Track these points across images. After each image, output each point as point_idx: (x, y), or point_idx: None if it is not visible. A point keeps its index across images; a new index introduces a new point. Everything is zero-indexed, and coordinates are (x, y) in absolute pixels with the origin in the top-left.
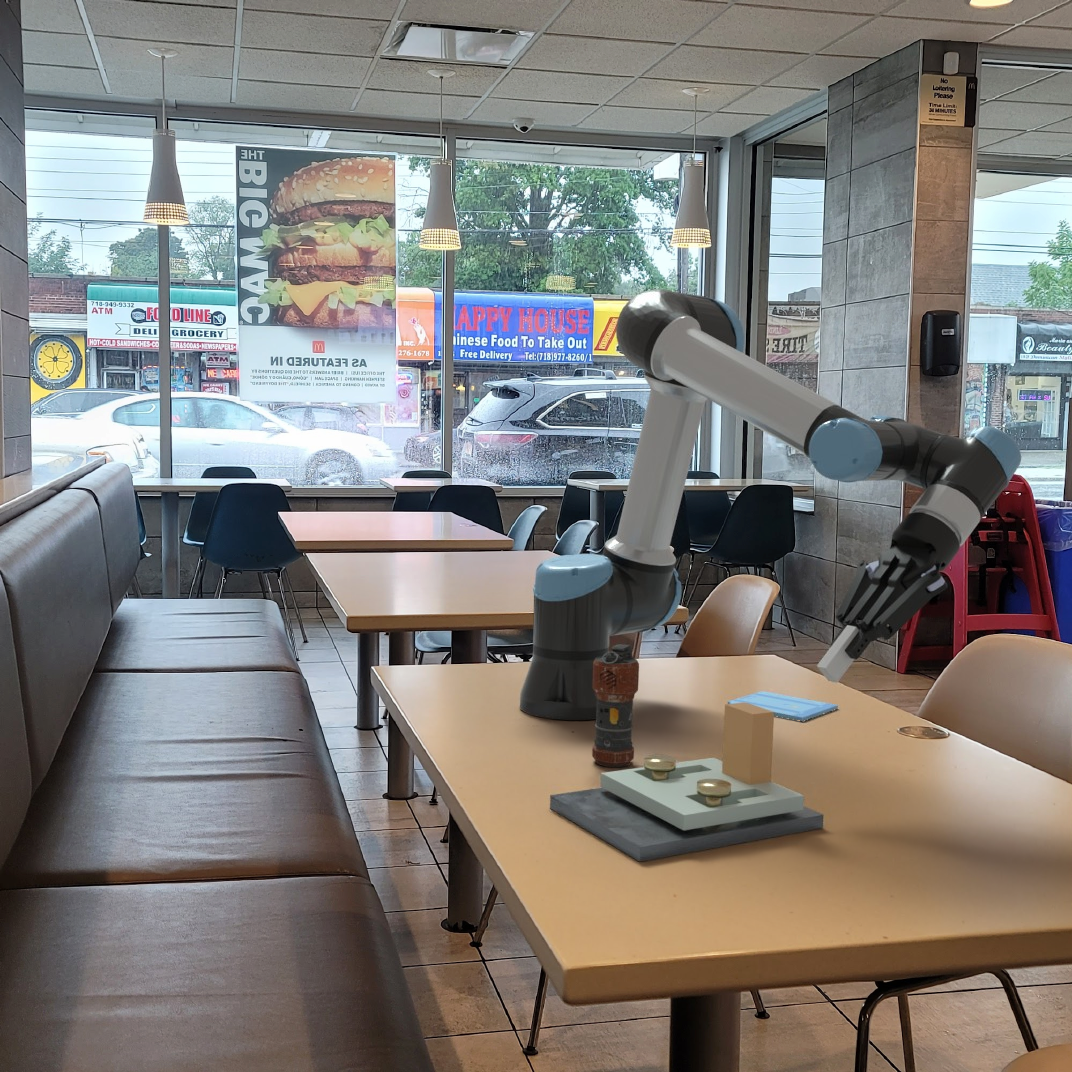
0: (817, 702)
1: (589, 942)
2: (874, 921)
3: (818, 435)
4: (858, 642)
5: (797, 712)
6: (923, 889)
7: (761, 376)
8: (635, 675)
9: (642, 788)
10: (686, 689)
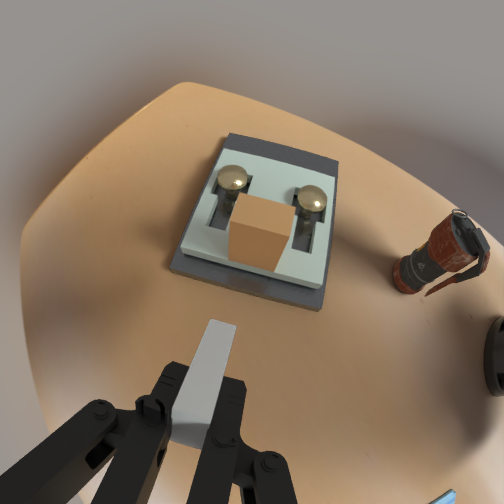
0: None
1: (188, 89)
2: (93, 166)
3: None
4: (158, 381)
5: None
6: (78, 219)
7: None
8: (444, 244)
9: (287, 169)
10: (487, 480)
